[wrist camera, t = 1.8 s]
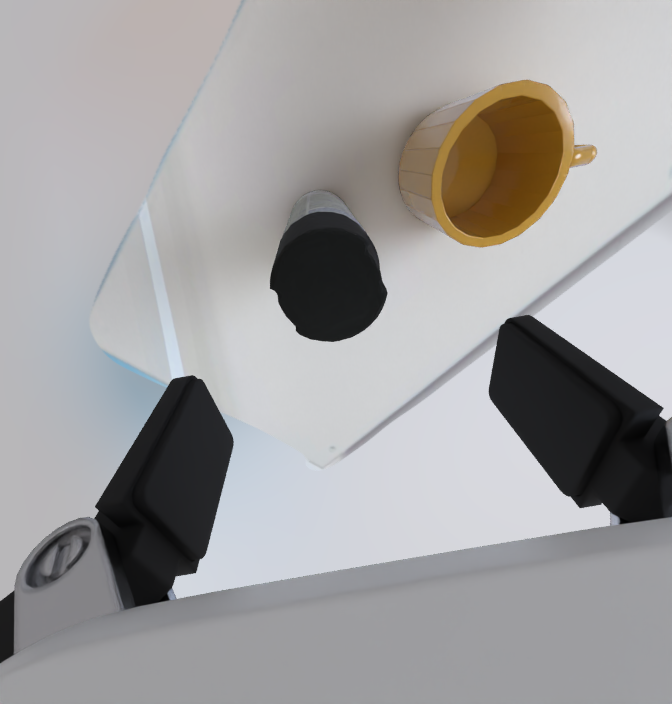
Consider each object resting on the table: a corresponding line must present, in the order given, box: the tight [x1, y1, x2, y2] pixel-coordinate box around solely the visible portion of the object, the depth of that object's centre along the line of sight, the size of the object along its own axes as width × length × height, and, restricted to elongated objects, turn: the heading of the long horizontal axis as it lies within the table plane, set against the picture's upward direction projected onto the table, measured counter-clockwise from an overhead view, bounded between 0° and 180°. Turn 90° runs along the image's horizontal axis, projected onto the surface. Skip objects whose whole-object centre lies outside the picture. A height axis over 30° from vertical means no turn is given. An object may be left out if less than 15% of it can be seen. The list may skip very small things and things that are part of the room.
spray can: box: [270, 190, 387, 342], centre depth 24 cm, size 7×7×20 cm
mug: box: [399, 80, 597, 247], centre depth 26 cm, size 14×11×10 cm
